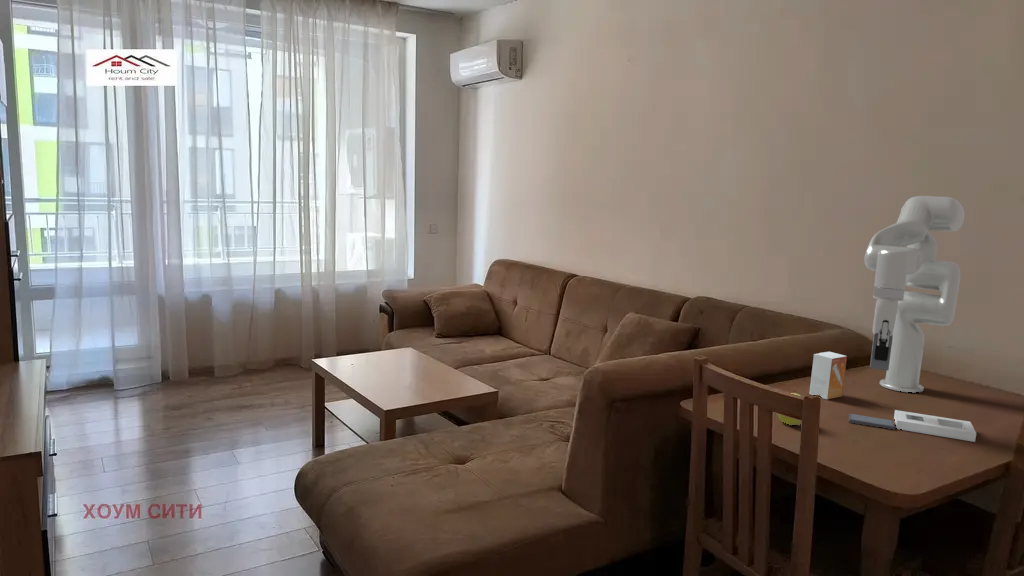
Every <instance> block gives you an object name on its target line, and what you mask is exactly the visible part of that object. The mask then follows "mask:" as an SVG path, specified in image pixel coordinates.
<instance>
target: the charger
mask: <svg viewBox="0 0 1024 576" xmlns="http://www.w3.org/2000/svg"><path fill="white" fill-rule="evenodd" d="M880 335H882V333H880ZM887 335H888V333H887ZM889 336H890V335H889ZM880 338H881V337H880ZM892 338H893V334H892V336H890V337H889V344H888V347H889V351H888V359H887V361H882V360H875V359H874V356H875V348H876V345H877V340H878V333H875V335H874V334H873V340H872V348H871V356H870V364H869V368H870V369H873V370H874V369H875V370H880V371H881V370H882V371H887V370H889V362H890V354H891V346H892ZM879 343H880V342H879Z"/></svg>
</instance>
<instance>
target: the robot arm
mask: <svg viewBox="0 0 1024 576" xmlns="http://www.w3.org/2000/svg"><path fill="white" fill-rule="evenodd" d="M964 220H965V210H964V207H963V205H962V204H961V203H960V201H958V200H957V199H956V198H954V197H950V196H936V195H934V196H932V195H917V196H916V195H915V196H912V197H910V198H908V199H907V200H906V201H905V202H904V205H902V207H901V209H900V212H899V216H898V218H897V221H896V223H893V224H891V225H889V226H887V227H885V228H883V229H880V230H879V231H878V232H876V233H874V235H873V236H872V237H871V239H870V241H869V243H868V246H867V248H866V250H865V253H864V257H863V260H864V261H863V263H864V266H865V267H866V268H867V269H868V270H870V271H873V272H875V275H874V285H873V293H872V298H873V299H876V300H875V301H876V302H875V307H874V313H873V315H874V316H873V323H872V329H871V330H872V334H873V336H874V335H875V333H878V340H877V345H876V348H875V356H874V359H875V360H882V361H887V359H888V351H889V347H888V344H889V337H890V336H892V334H893V338H892V346H891V354H890V362H889V370H886V373H885V378H883V379H880V380H879V385H880V386H882V387H883V388H884V389H889V390H892V391H896V392H900V391H901V393H908V392H912V393H913V394H917V393H916V392H919V393H923V391H924V390H925V387H924V386H923V385H922V384H920V378H921V377H920V376H921V371H922V370H921V368H922V362H923V354H924V346H925V337H926V336H925V334H924V332H923V330H922V328H921V326H920V325H919V324H924V325H925V324H927V325H934V326H939V327H940V326H941V327H943V326H944V327H947V326H951V324H952V323H953V321H954V319H955V315H956V309H957V303H958V296H959V291H960V283H961V269H960V266H959V265H958V263H956V262H955V261H954V262H953V261H949V260H947V261H946V260H939V259H937V251H938V243H937V241H936V239H935V237H934V236H933V234H931V232H929V231H935V232H936V231H937V232H938V231H939V232H949V233H950V232H953V233H954V232H957V231H959V230H960V229H961V228H962V226H963V224H964ZM906 287H909V288H915V289H921V290H929V291H937V292H940V294H934V293H926V292H918V291H917V292H916V291H906V290H905V289H906ZM880 333H882V335H880ZM887 333H888V335H887ZM889 335H890V336H889ZM880 337H881V338H880ZM879 342H880V343H879Z"/></svg>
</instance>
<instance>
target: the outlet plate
mask: <svg viewBox="0 0 1024 576" xmlns="http://www.w3.org/2000/svg"><path fill="white" fill-rule="evenodd" d="M894 419H895V421H894V426H895V425H896V426H895V429H896V428H897V429H896V430H900V429H902V430H901V431H907V432H913V433H919V434H924V435H931V436H937V437H941V438H942V437H943V438H947V439H949V438H950V439H955V440H961V441H967V442H974V443H976V439H977V438H976V437H977V431H976V430H975V428H974V426H973V424H972V422H971V421H968V420H963V419H954V418H947V417H942V416H937V415H929V414H922V413H916V412H911V411H910V412H909V411H904V410H899V409H894V415H893V420H894Z"/></svg>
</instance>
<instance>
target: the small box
mask: <svg viewBox="0 0 1024 576" xmlns="http://www.w3.org/2000/svg"><path fill="white" fill-rule="evenodd" d="M847 359H848V357H847V355H844V354H840V353H837V352H832V351H824V352H819V353H813V360H812V368H811V377H810V385H809V395H811V396H813V395H820V396H821V397H822V398H821V399H823V400H831V399H835V398H841V397H843V391H844V382H845V376H846V375H845V373H846V367H847Z"/></svg>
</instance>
